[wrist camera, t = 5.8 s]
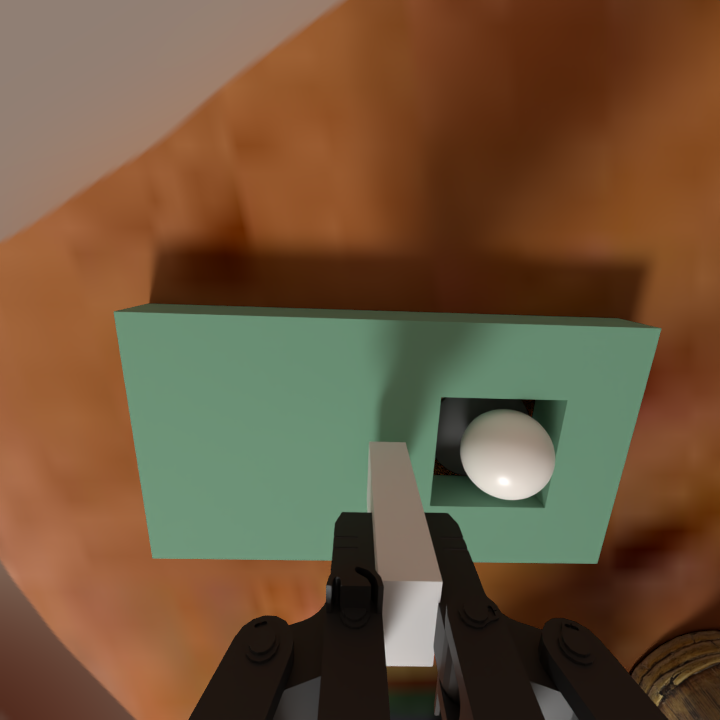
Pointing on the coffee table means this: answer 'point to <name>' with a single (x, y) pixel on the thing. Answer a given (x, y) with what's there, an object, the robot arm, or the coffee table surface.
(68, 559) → the coffee table surface
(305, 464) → the putting mat
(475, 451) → the ball
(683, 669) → the wooden mug
